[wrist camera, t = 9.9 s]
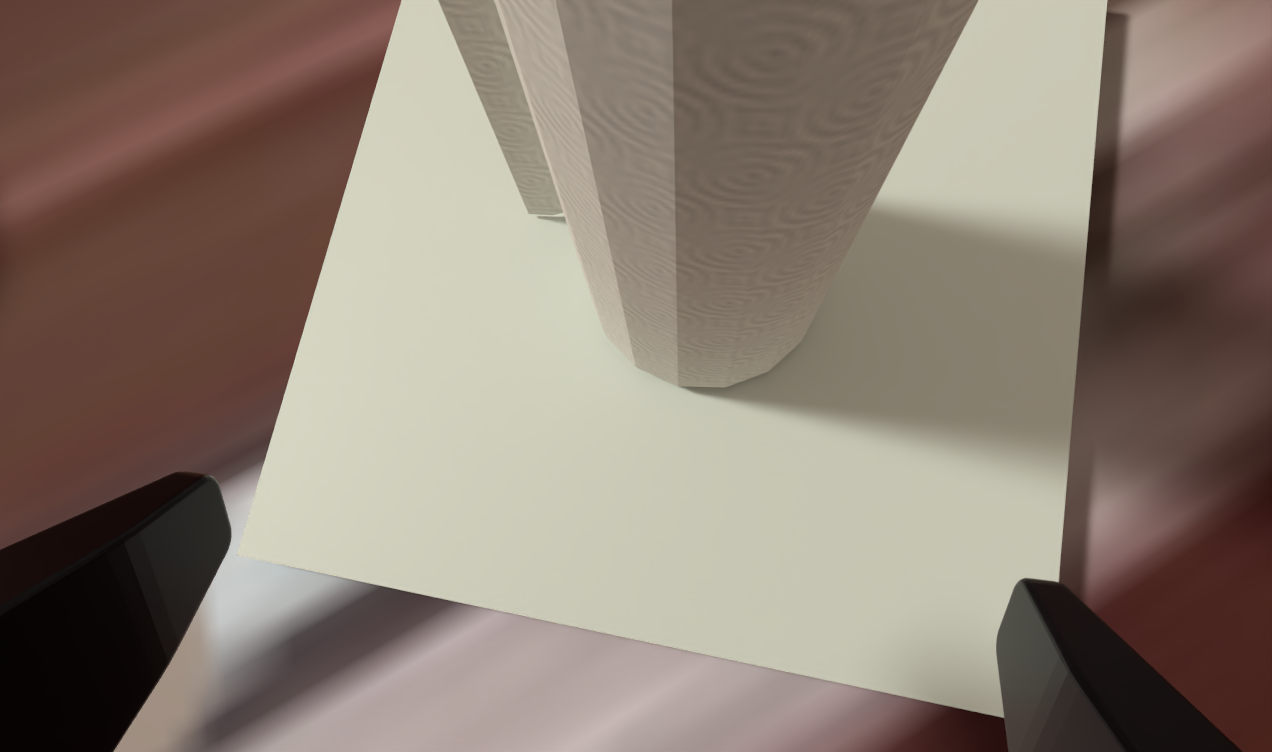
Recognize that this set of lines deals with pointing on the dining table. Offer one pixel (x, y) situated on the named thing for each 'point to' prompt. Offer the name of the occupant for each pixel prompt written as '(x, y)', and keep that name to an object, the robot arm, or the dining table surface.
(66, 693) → the robot arm
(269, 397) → the dining table surface
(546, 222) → the sage board
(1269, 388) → the dining table surface
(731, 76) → the paper towel roll
